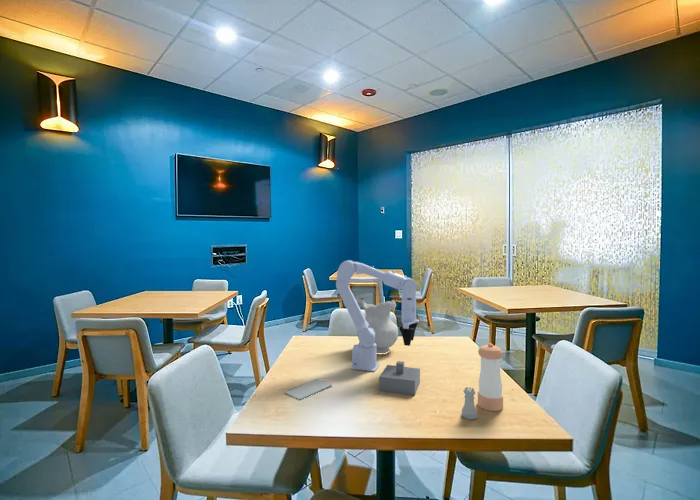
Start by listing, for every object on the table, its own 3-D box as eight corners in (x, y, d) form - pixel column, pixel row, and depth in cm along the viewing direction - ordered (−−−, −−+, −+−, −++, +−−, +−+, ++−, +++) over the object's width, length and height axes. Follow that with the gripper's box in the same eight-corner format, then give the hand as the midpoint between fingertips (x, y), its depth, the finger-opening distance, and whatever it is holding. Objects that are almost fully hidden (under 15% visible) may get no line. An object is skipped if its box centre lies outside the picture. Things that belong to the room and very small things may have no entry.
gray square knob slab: (379, 390, 119) (379, 366, 119) (387, 377, 130) (387, 355, 130) (414, 395, 115) (414, 370, 115) (420, 381, 126) (419, 358, 126)
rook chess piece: (458, 413, 103) (458, 385, 103) (473, 412, 104) (473, 385, 103) (465, 420, 99) (465, 392, 99) (480, 419, 99) (480, 391, 99)
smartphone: (283, 392, 117) (316, 378, 128) (283, 395, 117) (316, 381, 128) (299, 399, 112) (332, 384, 123) (299, 402, 112) (332, 387, 123)
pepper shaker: (491, 413, 103) (491, 348, 102) (472, 403, 109) (472, 342, 109) (508, 408, 106) (508, 344, 106) (488, 398, 113) (489, 339, 112)
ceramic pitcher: (347, 356, 159) (345, 302, 156) (358, 341, 177) (357, 293, 175) (394, 361, 152) (394, 305, 150) (401, 345, 171) (401, 295, 168)
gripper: (416, 312, 131) (416, 348, 131) (421, 306, 145) (421, 338, 145) (397, 311, 134) (397, 347, 134) (404, 305, 147) (404, 337, 147)
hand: (408, 342), depth 140 cm, fingers open, 7 cm apart
